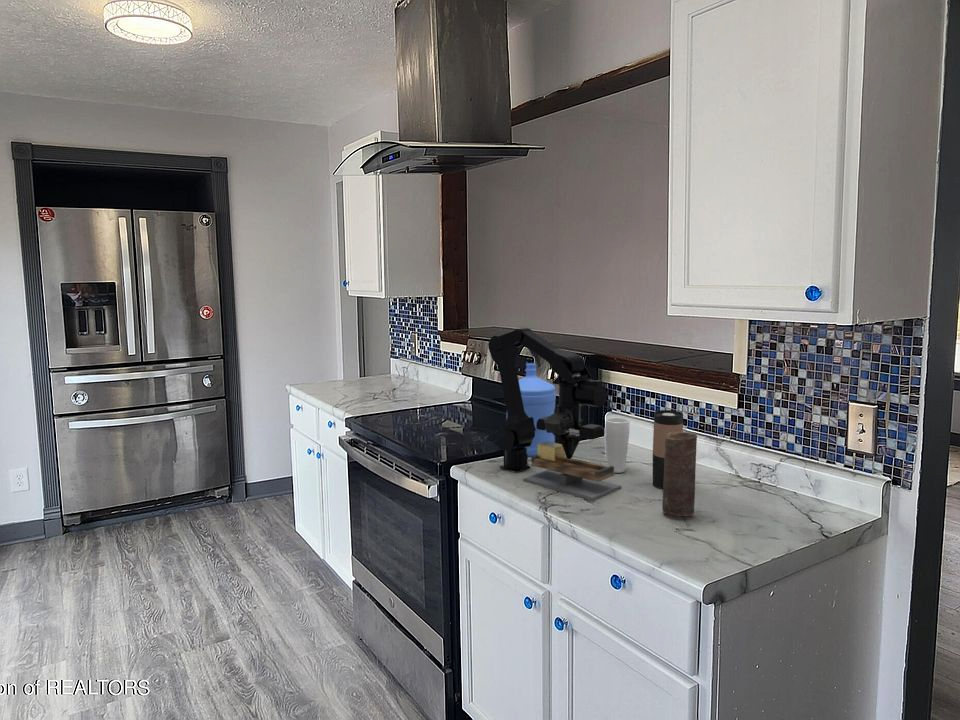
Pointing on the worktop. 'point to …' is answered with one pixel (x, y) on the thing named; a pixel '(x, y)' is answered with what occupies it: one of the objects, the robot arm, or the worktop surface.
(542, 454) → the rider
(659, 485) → the travel mug
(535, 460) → the beam
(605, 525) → the worktop surface
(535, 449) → the water jug
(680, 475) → the candle
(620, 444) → the drinking glass
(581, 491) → the stand
